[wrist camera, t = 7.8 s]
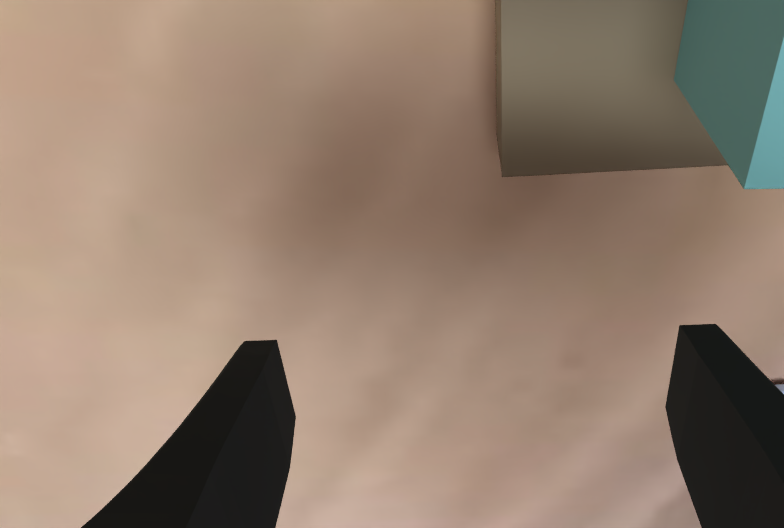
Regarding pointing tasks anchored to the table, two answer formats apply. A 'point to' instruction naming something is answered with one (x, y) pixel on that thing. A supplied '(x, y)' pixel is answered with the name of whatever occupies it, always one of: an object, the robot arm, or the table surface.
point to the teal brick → (738, 83)
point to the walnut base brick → (593, 88)
